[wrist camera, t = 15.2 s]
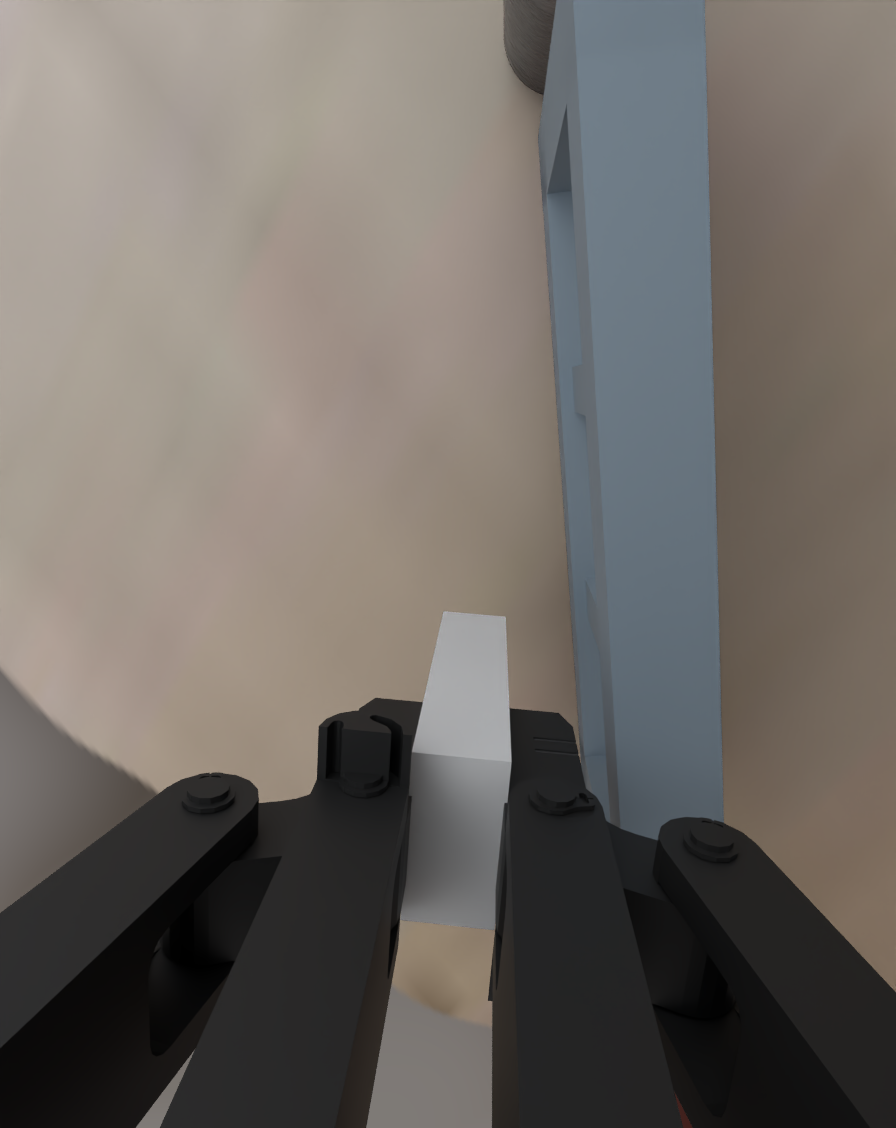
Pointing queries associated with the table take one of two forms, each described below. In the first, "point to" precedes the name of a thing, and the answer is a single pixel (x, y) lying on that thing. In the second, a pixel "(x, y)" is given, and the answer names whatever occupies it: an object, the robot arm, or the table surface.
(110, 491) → the table surface
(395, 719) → the robot arm
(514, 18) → the hinge post
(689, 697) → the gate
